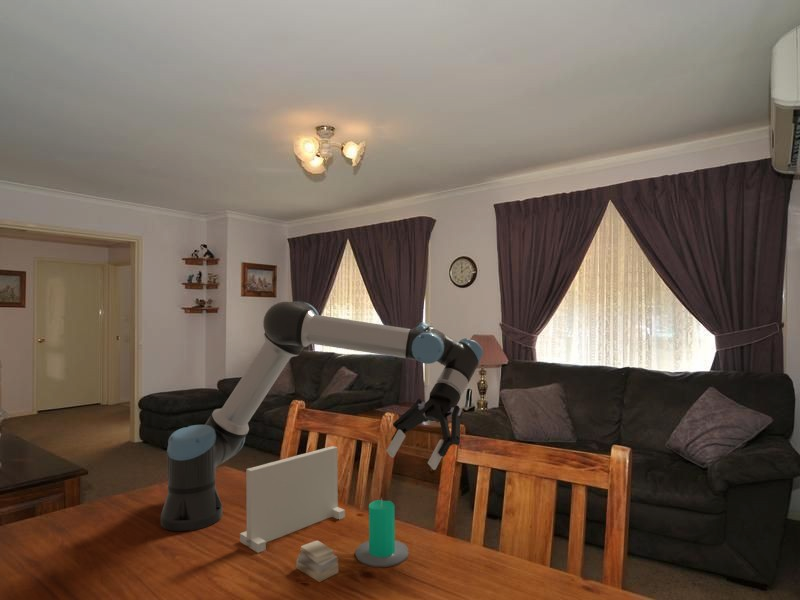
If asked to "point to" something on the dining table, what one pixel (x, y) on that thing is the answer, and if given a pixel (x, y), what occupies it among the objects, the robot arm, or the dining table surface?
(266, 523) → the standing panel with feet
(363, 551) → the coaster
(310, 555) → the offcut stack
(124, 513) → the dining table surface
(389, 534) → the candle
